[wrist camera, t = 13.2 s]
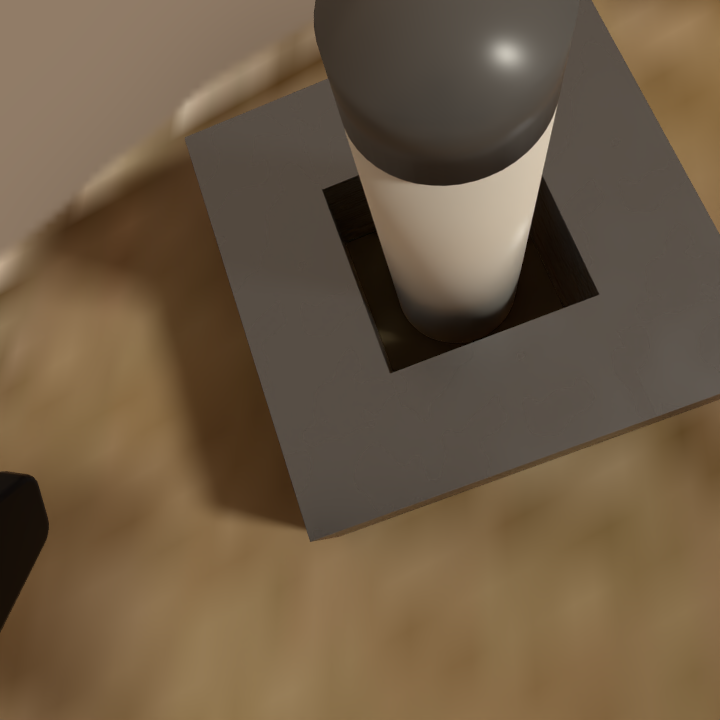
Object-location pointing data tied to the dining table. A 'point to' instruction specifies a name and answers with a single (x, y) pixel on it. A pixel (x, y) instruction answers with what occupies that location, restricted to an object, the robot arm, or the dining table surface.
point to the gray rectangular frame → (483, 357)
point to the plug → (449, 140)
